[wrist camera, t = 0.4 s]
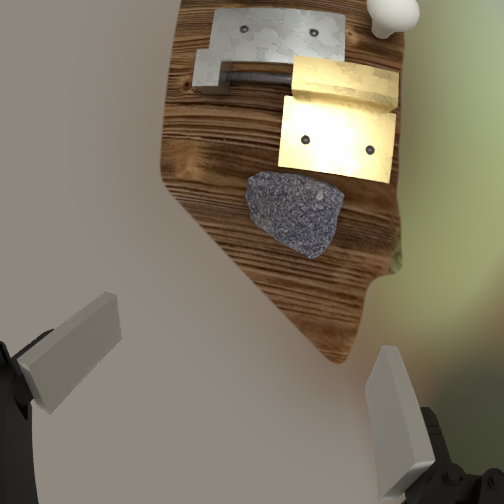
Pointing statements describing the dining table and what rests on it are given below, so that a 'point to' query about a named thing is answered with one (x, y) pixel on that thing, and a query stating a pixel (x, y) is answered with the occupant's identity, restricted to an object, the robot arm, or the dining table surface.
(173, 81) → the dining table surface
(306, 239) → the rock
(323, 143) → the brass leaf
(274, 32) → the zinc leaf
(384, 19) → the lightbulb
